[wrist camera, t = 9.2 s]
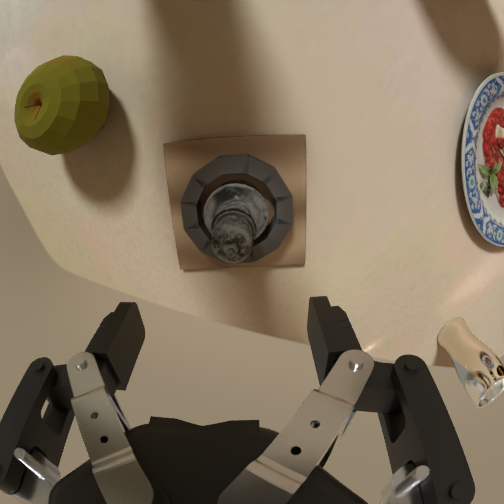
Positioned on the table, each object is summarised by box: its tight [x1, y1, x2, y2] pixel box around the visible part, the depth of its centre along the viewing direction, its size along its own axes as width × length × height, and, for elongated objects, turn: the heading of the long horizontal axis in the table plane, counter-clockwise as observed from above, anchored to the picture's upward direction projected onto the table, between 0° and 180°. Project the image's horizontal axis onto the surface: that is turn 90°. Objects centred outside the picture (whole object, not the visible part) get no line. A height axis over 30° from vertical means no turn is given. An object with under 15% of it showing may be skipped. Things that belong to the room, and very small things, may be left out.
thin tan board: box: [163, 135, 306, 270], centre depth 29 cm, size 14×14×3 cm
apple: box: [15, 55, 110, 155], centre depth 20 cm, size 10×10×11 cm
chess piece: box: [203, 179, 269, 263], centre depth 24 cm, size 6×6×12 cm
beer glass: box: [438, 317, 504, 408], centre depth 32 cm, size 7×7×15 cm
